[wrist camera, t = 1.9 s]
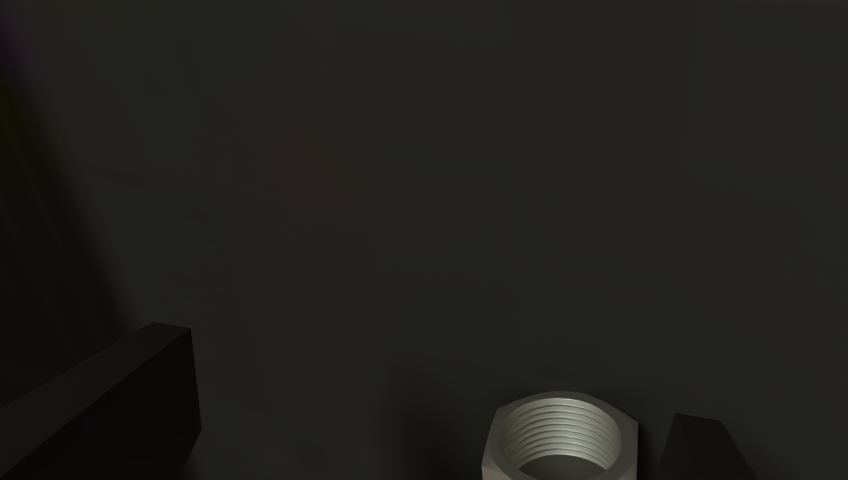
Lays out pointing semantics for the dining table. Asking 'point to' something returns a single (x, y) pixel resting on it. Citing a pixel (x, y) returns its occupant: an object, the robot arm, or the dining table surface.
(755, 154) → the dining table surface
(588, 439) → the pipe fitting
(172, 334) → the robot arm
